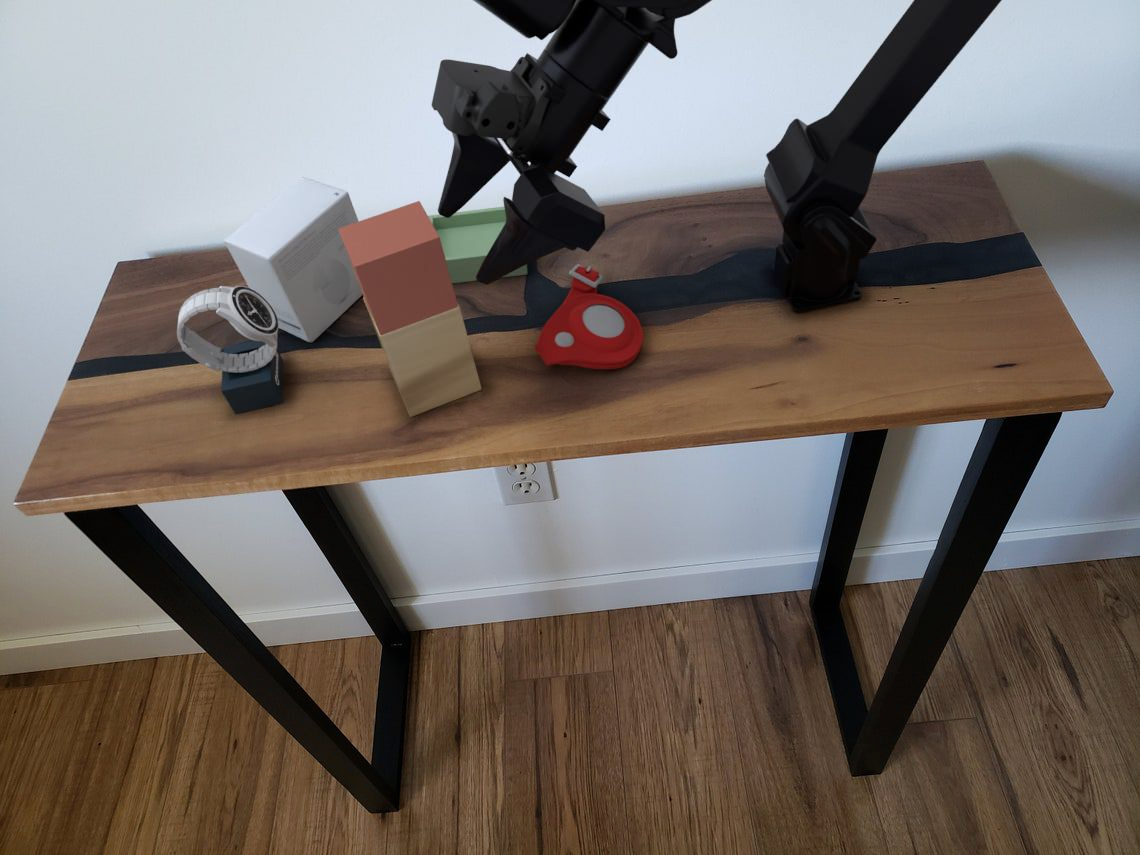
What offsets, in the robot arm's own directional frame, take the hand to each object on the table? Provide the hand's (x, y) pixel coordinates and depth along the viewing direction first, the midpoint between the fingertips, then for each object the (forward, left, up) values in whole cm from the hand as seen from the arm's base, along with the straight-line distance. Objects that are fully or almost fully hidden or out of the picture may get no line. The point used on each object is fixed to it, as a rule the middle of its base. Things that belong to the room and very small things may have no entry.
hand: (461, 247), depth 68 cm
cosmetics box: (+15, -13, -14) cm, 24 cm away
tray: (-1, -15, -13) cm, 20 cm away
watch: (+21, -3, -14) cm, 25 cm away
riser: (+5, +1, -13) cm, 14 cm away
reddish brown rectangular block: (+5, +1, -3) cm, 6 cm away
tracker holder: (-10, -1, -14) cm, 17 cm away
